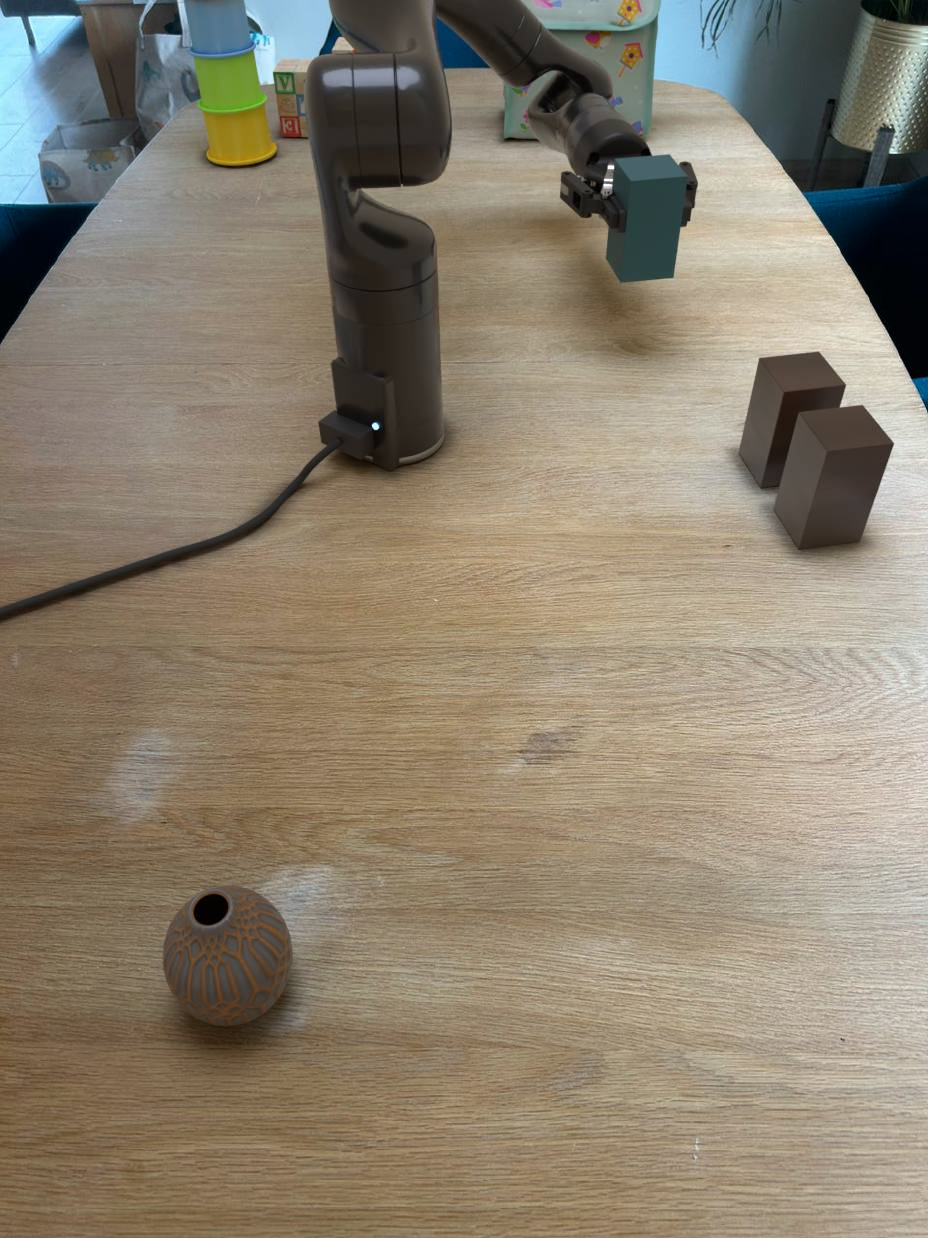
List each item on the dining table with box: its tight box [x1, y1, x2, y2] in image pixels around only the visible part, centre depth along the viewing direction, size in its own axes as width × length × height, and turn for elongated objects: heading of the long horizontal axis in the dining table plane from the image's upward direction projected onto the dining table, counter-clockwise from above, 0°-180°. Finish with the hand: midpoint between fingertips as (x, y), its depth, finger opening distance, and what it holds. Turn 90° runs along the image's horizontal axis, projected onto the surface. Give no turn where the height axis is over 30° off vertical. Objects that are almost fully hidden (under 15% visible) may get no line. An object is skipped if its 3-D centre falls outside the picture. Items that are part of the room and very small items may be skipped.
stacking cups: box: [183, 0, 278, 167], centre depth 135 cm, size 10×10×35 cm
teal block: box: [605, 154, 688, 284], centre depth 98 cm, size 6×6×10 cm
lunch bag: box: [502, 0, 662, 140], centre depth 144 cm, size 23×16×27 cm
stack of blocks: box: [272, 36, 358, 138], centre depth 149 cm, size 21×6×12 cm, turn 84°
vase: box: [162, 885, 294, 1027], centre depth 55 cm, size 7×7×9 cm
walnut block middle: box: [738, 351, 847, 489], centre depth 88 cm, size 6×6×10 cm
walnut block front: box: [773, 404, 895, 550], centre depth 82 cm, size 6×6×10 cm
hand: (653, 219), depth 95 cm, fingers closed on teal block, 5 cm apart
